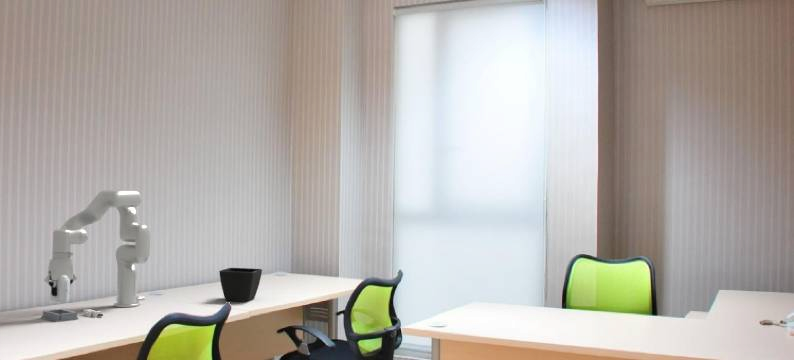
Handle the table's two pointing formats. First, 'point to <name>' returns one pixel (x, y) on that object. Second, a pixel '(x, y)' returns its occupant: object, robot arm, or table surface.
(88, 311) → the white cube chain
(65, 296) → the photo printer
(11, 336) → the table surface
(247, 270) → the flower pot
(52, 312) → the end holder
